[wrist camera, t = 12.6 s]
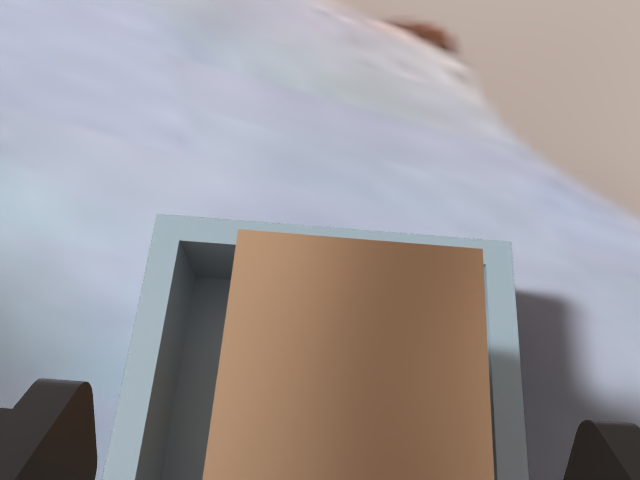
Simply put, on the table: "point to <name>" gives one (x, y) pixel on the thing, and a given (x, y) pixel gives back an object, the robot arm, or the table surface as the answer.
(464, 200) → the table surface
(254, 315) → the block
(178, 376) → the tray
